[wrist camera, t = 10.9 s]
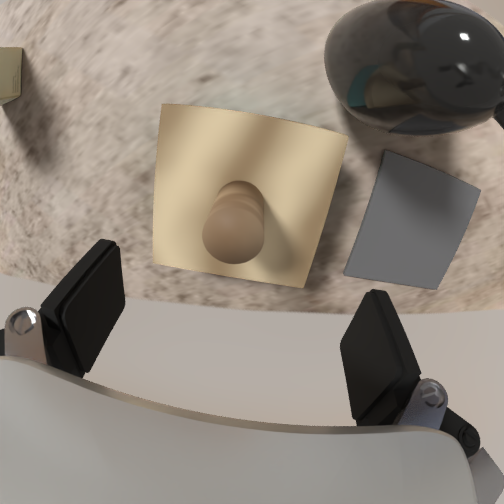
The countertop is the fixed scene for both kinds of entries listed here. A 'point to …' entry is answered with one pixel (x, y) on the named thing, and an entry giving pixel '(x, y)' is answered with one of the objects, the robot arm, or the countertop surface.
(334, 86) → the pump dispenser
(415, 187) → the mat
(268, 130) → the lid
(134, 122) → the countertop surface
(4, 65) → the skincare box
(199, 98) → the countertop surface
